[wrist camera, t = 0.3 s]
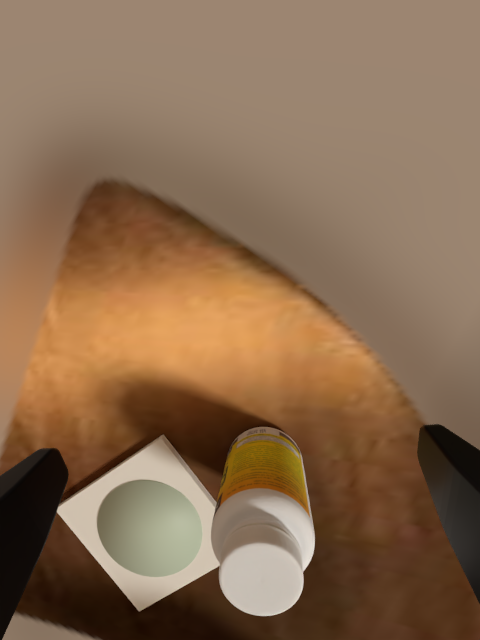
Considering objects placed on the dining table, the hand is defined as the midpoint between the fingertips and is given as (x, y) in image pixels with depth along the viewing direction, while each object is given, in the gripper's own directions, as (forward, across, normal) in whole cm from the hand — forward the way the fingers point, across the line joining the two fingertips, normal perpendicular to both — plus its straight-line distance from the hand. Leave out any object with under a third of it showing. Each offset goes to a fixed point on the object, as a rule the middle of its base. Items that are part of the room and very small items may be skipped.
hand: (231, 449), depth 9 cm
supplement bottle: (+13, 0, +14) cm, 19 cm away
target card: (+12, +10, +19) cm, 24 cm away
